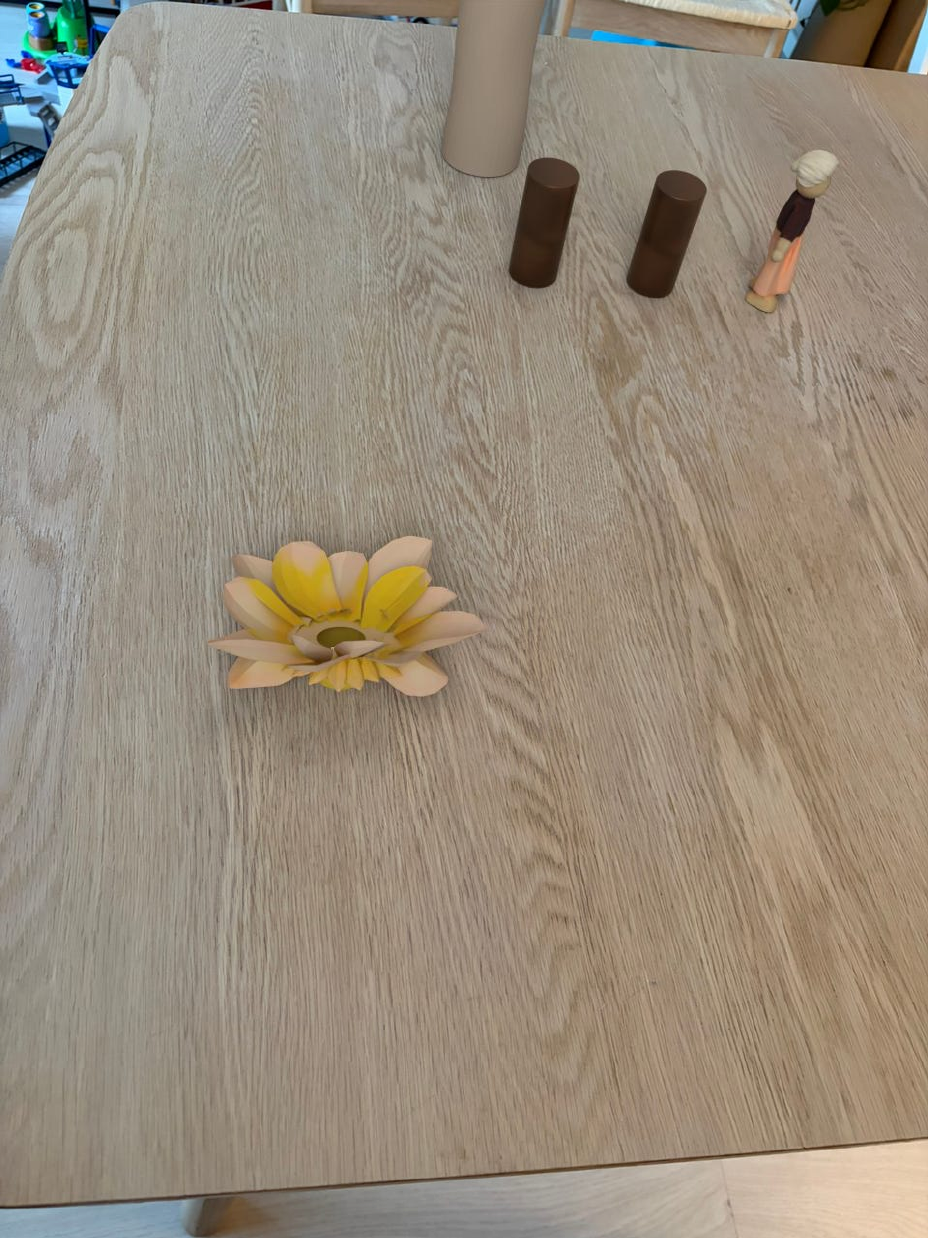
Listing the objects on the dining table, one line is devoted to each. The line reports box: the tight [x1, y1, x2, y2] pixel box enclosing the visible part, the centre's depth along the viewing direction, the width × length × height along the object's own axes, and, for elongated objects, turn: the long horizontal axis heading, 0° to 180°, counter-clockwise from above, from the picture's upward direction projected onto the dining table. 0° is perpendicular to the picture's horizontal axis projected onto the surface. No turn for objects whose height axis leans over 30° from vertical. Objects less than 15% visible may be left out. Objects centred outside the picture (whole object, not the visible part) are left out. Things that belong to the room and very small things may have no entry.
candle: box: [440, 0, 547, 178], centre depth 88 cm, size 7×14×20 cm, turn 172°
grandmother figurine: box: [744, 149, 840, 313], centre depth 82 cm, size 8×4×13 cm, turn 171°
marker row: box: [508, 157, 708, 299], centre depth 82 cm, size 14×4×9 cm, turn 92°
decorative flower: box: [203, 535, 487, 698], centre depth 58 cm, size 15×11×10 cm
